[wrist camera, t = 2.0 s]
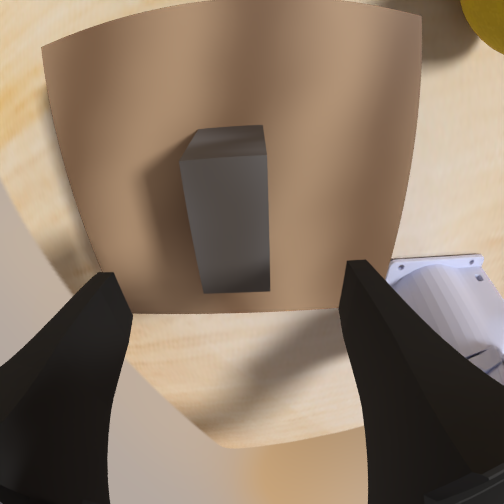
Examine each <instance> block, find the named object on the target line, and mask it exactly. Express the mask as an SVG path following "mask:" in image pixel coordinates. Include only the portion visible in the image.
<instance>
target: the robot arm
mask: <svg viewBox="0 0 504 504" xmlns="http://www.w3.org/2000/svg"><path fill="white" fill-rule="evenodd" d="M483 261H484V257H483V256H482V255H481V254H474V255H460V256H444V257H428V258H412V259H395V260H392V261H390V264H389V267H388V271H387V275H386V278H385V279H384V278H383V277H382V276H381V275H380V274H379V273H378V272H377V271H376V270H375V268H374V267H373V266H372V265H371V264H370V263H369V262H368V261H367V260H366V259H365V260H349V261H347V263H346V269H345V275H344V281H343V286H342V292H341V297H340V302H339V314H340V320H341V326H342V332H343V337H344V341H345V345H346V348H347V352H348V355H349V359H350V362H351V366H352V370H353V373H354V377H355V381H356V384H357V388H358V392H359V396H360V401H361V405H362V411H363V419H364V427H365V436H366V447H367V460H368V461H367V462H368V504H504V300H503V298H502V296H501V295H500V293H499V292H498V290H497V289H496V287H495V286H494V284H493V283H492V281H491V280H490V279H489V277H488V276H487V274H486V273H485V271H484V270H483V269H482V267H481V266H482V263H483ZM400 265H401V266H400ZM399 266H400V267H399ZM132 319H133V314H132V312H131V310H130V308H129V306H128V304H127V301H126V299H125V297H124V295H123V293H122V290H121V288H120V286H119V283H118V281H117V279H116V276H115V274H114V272H100V273H97V274H96V275H95V276H93V277H92V278H91V279H90V280H89V281H88V282H87V283H86V284H85V285H84V286H83V287H82V288H81V289H80V290H79V291H78V292H77V293H76V294H75V295H74V296H73V297H72V298H71V299H70V300H69V301H68V302H67V303H66V304H65V305H64V307H63V308H62V309H61V310H60V311H59V312H58V313H57V314H56V315H55V316H54V317H53V318H52V319H51V320H50V321H49V322H48V323H47V324H46V325H45V326H44V327H43V328H42V329H41V330H40V331H39V332H38V333H37V334H36V335H35V336H34V337H33V338H32V339H31V340H30V341H29V342H28V343H27V344H26V345H25V346H24V347H23V348H22V349H21V350H20V351H19V352H17V353H16V354H15V355H14V356H13V357H12V358H11V359H10V360H9V361H7V362H6V363H5V364H3V365H2V366H1V367H0V504H110V499H109V488H108V476H107V475H108V469H107V453H108V432H109V423H110V414H111V408H112V403H113V398H114V394H115V391H116V387H117V383H118V379H119V376H120V372H121V368H122V365H123V361H124V358H125V354H126V351H127V347H128V343H129V338H130V332H131V325H132Z"/></svg>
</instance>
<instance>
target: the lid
mask: <svg viewBox="0 0 504 504" xmlns="http://www.w3.org/2000/svg"><path fill="white" fill-rule="evenodd" d="M41 49H42V58H43V65H44V72H45V79H46V85H47V91H48V96H49V101H50V107H51V111H52V116H53V121H54V125H55V130H56V134H57V138H58V142H59V146H60V150H61V154H62V157H63V161H64V165H65V168H66V172H67V175H68V178H69V182H70V185H71V188H72V191H73V195H74V198H75V201H76V204H77V207H78V210H79V213H80V215H81V218H82V221H83V224H84V227H85V229H86V232H87V235H88V237H89V240H90V243H91V245H92V248H93V250H94V253H95V255H96V258H97V260H98V263H99V265H100V267H101V270H102V272H114V274H115V276H116V279H117V281H118V283H119V286H120V288H121V290H122V293H123V295H124V297H125V299H126V301H127V304H128V306H129V308H130V310H131V312H132V313H139V314H214V313H252V312H277V311H296V310H313V309H328V308H339V302H340V297H341V292H342V286H343V281H344V275H345V269H346V263H347V261H349V260H365V259H366V260H367V261H368V262H369V263H370V264H371V265H372V266H373V267H374V268H375V270H376V271H377V272H378V273H379V274H380V275H381V276H382V277H383V278H384V279H385V278H386V275H387V271H388V267H389V264H390V260H391V256H392V253H393V249H394V245H395V241H396V237H397V233H398V228H399V224H400V220H401V215H402V211H403V206H404V201H405V196H406V191H407V186H408V180H409V174H410V169H411V162H412V156H413V149H414V142H415V135H416V127H417V118H418V108H419V97H420V83H421V64H422V16H420V15H416V14H412V13H408V12H404V11H400V10H395V9H391V8H386V7H380V6H375V5H369V4H363V3H356V2H349V1H341V0H210V1H202V2H195V3H188V4H182V5H176V6H170V7H165V8H160V9H155V10H151V11H146V12H142V13H138V14H134V15H130V16H127V17H123V18H119V19H116V20H112V21H109V22H106V23H103V24H100V25H97V26H94V27H91V28H88V29H85V30H82V31H79V32H77V33H74V34H72V35H69V36H66V37H64V38H61V39H59V40H57V41H54V42H52V43H50V44H47V45H45V46H43V47H41Z"/></svg>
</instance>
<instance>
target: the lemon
mask: <svg viewBox="0 0 504 504" xmlns="http://www.w3.org/2000/svg"><path fill="white" fill-rule="evenodd" d="M460 3H461V7H462V11H463V13H464V15H465V18H466V20H467V21H468V23H469V25H470V26H471V28H472V30H473V31H474V32H475V33H476V34H477V35H478V36H479V38H480V39H481V40H483V41H484V42H485V43H486V44H487V45H489V46H490V47H491V48H493V49H494V50H496V51H498V52H500V53H502V54H504V0H460Z"/></svg>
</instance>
